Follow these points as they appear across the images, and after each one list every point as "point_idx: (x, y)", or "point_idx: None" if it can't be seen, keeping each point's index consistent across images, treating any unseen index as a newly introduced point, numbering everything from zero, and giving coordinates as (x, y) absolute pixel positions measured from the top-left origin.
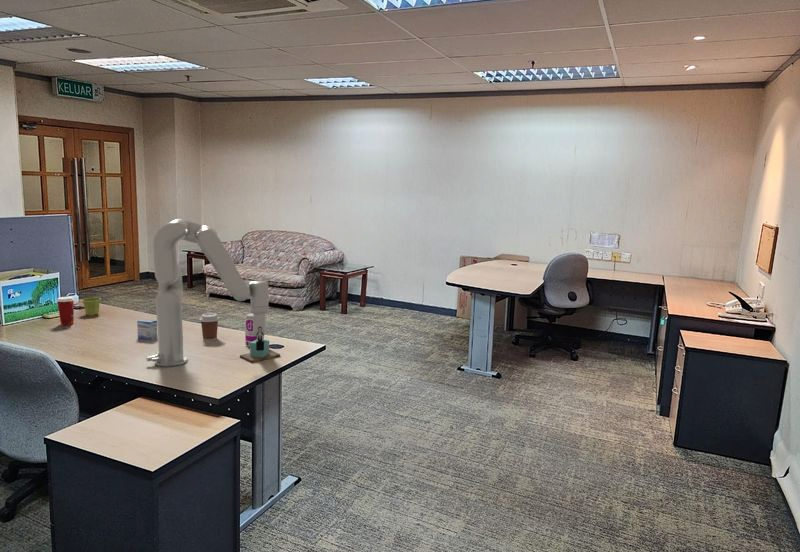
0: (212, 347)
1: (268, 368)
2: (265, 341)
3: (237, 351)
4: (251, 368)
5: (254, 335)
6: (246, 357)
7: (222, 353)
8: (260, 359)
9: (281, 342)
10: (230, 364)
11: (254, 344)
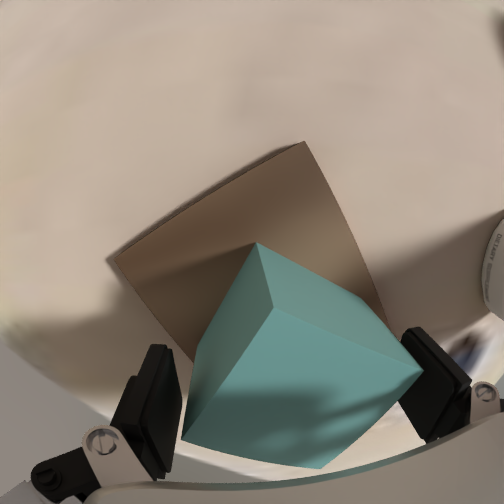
0: (492, 31)
1: (41, 348)
2: (292, 455)
3: (446, 139)
4: (25, 254)
5: (89, 497)
6: (211, 207)
7: (409, 34)
8: (165, 325)
9: (479, 378)
10: (109, 84)
11: (232, 357)
